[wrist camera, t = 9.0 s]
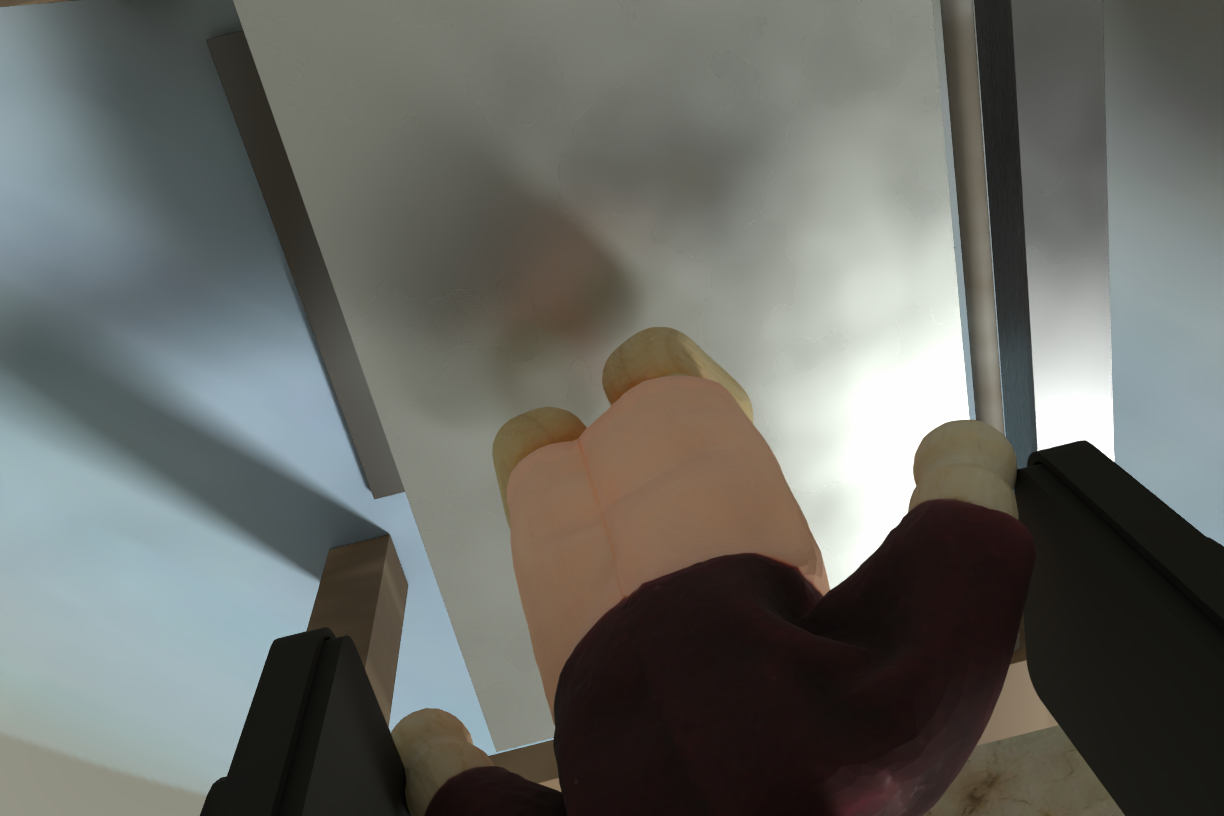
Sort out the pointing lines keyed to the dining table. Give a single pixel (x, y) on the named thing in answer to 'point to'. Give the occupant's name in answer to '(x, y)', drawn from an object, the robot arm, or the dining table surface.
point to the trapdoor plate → (687, 241)
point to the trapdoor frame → (370, 570)
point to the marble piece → (1026, 780)
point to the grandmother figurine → (734, 615)
